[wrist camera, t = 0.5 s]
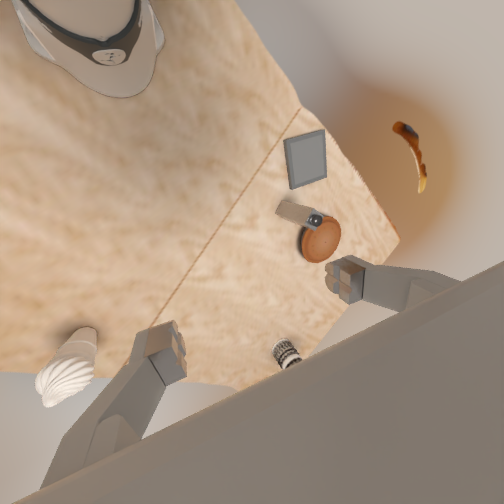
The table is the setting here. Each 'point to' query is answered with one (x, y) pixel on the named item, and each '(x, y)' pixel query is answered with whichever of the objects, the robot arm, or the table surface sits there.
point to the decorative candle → (285, 353)
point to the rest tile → (306, 158)
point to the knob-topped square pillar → (300, 215)
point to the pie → (321, 240)
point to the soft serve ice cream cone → (68, 368)
